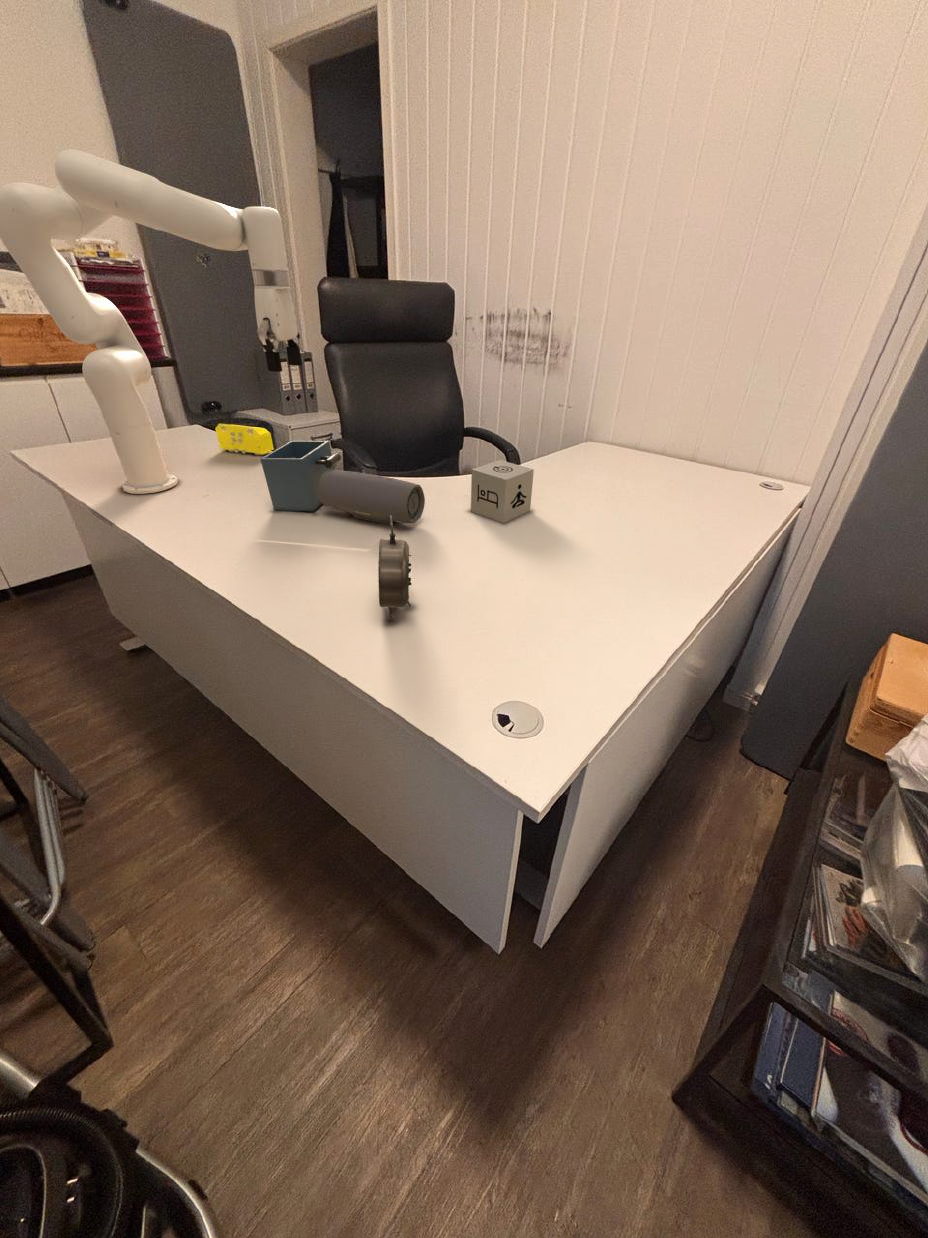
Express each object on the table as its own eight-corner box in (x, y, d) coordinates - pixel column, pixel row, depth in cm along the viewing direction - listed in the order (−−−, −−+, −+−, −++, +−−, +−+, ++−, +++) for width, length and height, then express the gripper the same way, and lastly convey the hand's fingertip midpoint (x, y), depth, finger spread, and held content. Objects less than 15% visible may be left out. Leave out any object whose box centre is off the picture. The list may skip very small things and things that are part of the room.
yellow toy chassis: (220, 451, 157) (212, 423, 152) (232, 446, 161) (225, 419, 157) (263, 457, 153) (257, 428, 148) (274, 451, 157) (269, 423, 153)
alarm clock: (383, 590, 90) (375, 503, 80) (413, 589, 90) (409, 502, 81) (380, 626, 81) (370, 532, 71) (414, 625, 81) (409, 531, 72)
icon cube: (470, 511, 120) (471, 469, 114) (497, 500, 126) (499, 459, 120) (503, 523, 114) (506, 479, 109) (530, 510, 121) (533, 469, 115)
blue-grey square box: (260, 458, 112) (321, 459, 110) (290, 440, 124) (346, 440, 122) (273, 510, 119) (331, 511, 116) (301, 488, 131) (354, 489, 128)
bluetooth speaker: (426, 519, 116) (425, 476, 110) (406, 535, 109) (404, 489, 103) (344, 503, 123) (338, 462, 118) (320, 516, 116) (313, 473, 111)
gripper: (275, 279, 117) (288, 362, 127) (233, 280, 103) (251, 372, 112) (306, 280, 116) (316, 363, 125) (267, 281, 102) (282, 374, 111)
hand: (285, 368), depth 119 cm, fingers open, 9 cm apart
